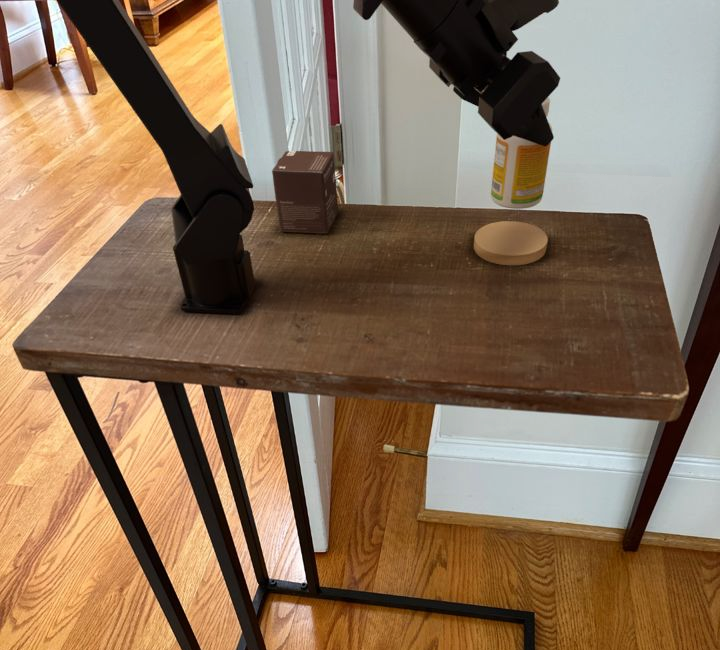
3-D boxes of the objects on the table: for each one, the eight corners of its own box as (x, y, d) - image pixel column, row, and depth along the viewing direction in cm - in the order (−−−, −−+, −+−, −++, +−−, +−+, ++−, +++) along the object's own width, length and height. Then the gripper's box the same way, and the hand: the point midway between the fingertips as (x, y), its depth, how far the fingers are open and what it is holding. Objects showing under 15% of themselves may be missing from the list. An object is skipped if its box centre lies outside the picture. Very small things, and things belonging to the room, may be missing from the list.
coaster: (472, 264, 75) (472, 253, 74) (475, 229, 80) (476, 219, 79) (547, 267, 74) (548, 256, 73) (545, 232, 79) (546, 222, 78)
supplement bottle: (549, 194, 73) (566, 94, 66) (529, 214, 70) (544, 111, 63) (503, 184, 75) (514, 86, 68) (481, 203, 72) (491, 102, 65)
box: (327, 235, 81) (322, 172, 75) (278, 232, 82) (270, 170, 76) (339, 212, 85) (334, 151, 80) (292, 210, 86) (285, 149, 81)
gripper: (556, -63, 49) (655, 91, 58) (468, -95, 62) (560, 36, 71) (445, 72, 53) (553, 195, 63) (384, 17, 66) (481, 125, 76)
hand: (537, 131), depth 68 cm, fingers closed on supplement bottle, 5 cm apart
